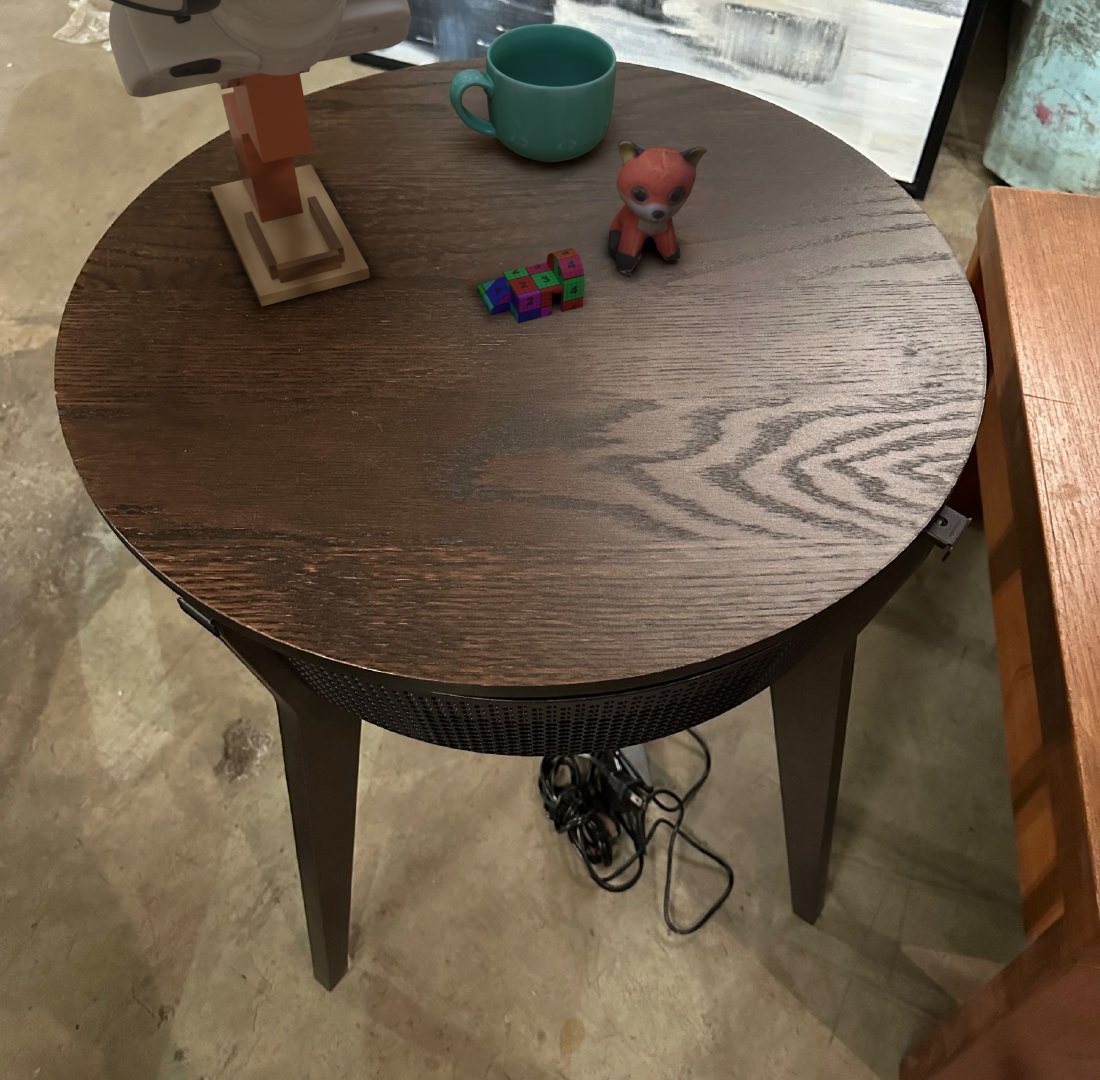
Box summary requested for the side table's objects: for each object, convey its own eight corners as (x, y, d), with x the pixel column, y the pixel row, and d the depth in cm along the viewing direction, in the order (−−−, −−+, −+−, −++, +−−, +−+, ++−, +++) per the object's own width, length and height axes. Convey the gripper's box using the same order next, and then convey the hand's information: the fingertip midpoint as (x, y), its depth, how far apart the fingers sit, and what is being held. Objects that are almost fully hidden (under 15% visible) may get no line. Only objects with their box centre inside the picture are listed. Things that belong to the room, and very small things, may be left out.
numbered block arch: (559, 269, 95) (560, 228, 91) (582, 306, 92) (585, 264, 88) (477, 290, 93) (475, 248, 89) (499, 327, 90) (498, 286, 86)
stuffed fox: (675, 208, 101) (692, 92, 91) (694, 282, 94) (714, 165, 84) (599, 210, 100) (607, 93, 91) (612, 284, 93) (622, 167, 84)
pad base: (261, 307, 90) (236, 206, 82) (213, 197, 100) (186, 98, 92) (370, 278, 93) (356, 178, 85) (312, 174, 103) (295, 75, 95)
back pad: (263, 163, 79) (237, 47, 72) (239, 117, 83) (213, 2, 75) (313, 151, 80) (293, 36, 73) (288, 106, 84) (266, -8, 76)
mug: (593, 105, 112) (599, 17, 104) (623, 171, 104) (631, 81, 97) (442, 120, 109) (436, 31, 102) (462, 188, 102) (457, 98, 94)
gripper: (412, -85, 67) (379, 2, 80) (88, -31, 61) (109, 53, 74) (441, 15, 68) (404, 85, 81) (126, 77, 62) (140, 141, 75)
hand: (261, 70), depth 78 cm, fingers closed on back pad, 4 cm apart
